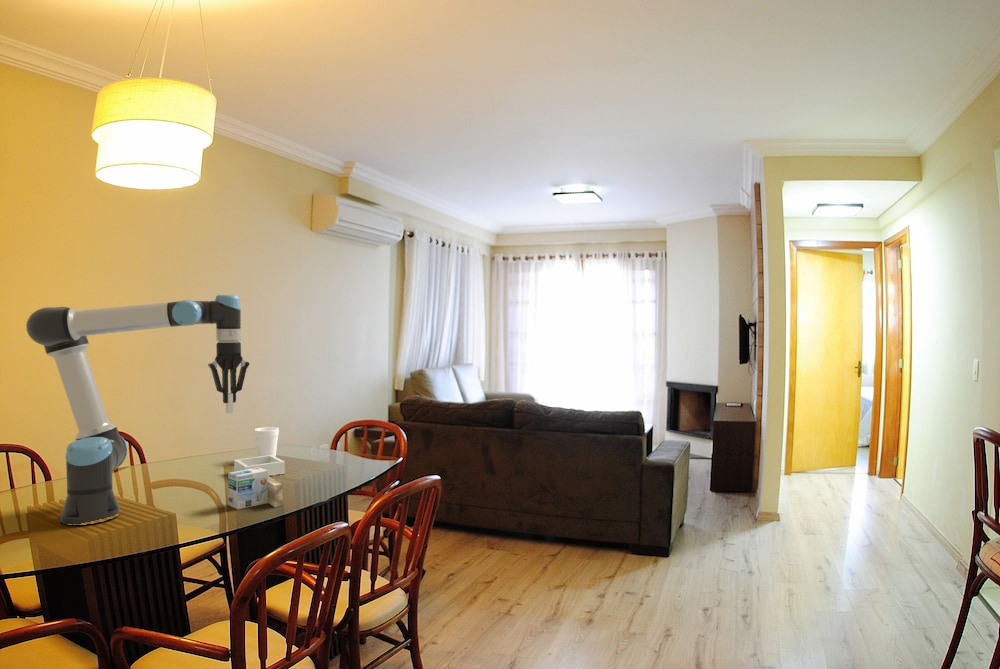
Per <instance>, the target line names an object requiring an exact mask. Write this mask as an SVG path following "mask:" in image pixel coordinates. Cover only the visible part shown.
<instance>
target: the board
mask: <svg viewBox="0 0 1000 669" xmlns="http://www.w3.org/2000/svg"><path fill="white" fill-rule="evenodd" d="M267 504H269V505H271V506H273V507H274V508H278V507H283V506H284V504H283V484H282V483H281V482H280V481H278V480H276V479H274V478H272V477H269V476H268V503H267Z"/></svg>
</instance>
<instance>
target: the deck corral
mask: <svg viewBox="0 0 1000 669" xmlns="http://www.w3.org/2000/svg"><path fill="white" fill-rule="evenodd" d="M233 464H234V465H233V472H235V471H241V470H246V469H252V468H257V467H259V468H262V469H264V470H267V471H268V476H269V475H276V474H284V473H285V474H286V465H285V464H286V462H285V461H284V460H283V459H280V458H278V457H277V456H276V457H275V456H273V455H267V456H260V457H258V456H254V457H246V458H239V459H233Z"/></svg>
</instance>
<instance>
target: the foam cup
mask: <svg viewBox="0 0 1000 669" xmlns="http://www.w3.org/2000/svg"><path fill="white" fill-rule="evenodd" d="M279 429H280V428H279V427H276V426H265V427H257V428H255V429H254V437H255V443H256V450H257V457H260V456H267V455H273V456H275V457H277V456H276V455H277V448H278V441H279V440H278V439H279V434H280V430H279Z"/></svg>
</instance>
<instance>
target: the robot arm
mask: <svg viewBox="0 0 1000 669" xmlns="http://www.w3.org/2000/svg"><path fill="white" fill-rule="evenodd" d="M241 310H242V309H241V299H240V296H239V295H236V294H234V295H233V294H221V295H220V294H217V295H216V296H215V300H190V299H187V300H183V299H182V300H179V301H172V302H159V303H158V302H157V303H150V304H149V303H148V304H147V303H146V304H139V305H130V306H129V305H128V306H127V305H126V306H117V307H115V306H114V307H107V308H106V307H105V308H95V309H84V310H83V309H82V310H77V309H76V308H74V307H66V306H56V307H54V306H53V307H52V306H51V307H42V308H39V309H37V310H35V311H33V312H32V313H31V314H30V316H29V317H28V319H27V321H26V324H25V326H26V328H25V329H26V332H27V335H28V337H30V339H31V340H32V341H33V342H35V343H37V344H38V345H41V346H43V347H44V350H45V353H46V355H47V356H49V357H51V358H53V359H54V362H55V364H56V367H57V370H58V373H59V376H60V379H61V382H62V385H63V388H64V392H65V394H66V397H67V401H68V404H69V406H70V409H71V412H72V415H73V417H74V421H75V424H76V428H77V429H78V430H77V431H78V433H77V434H76V436H75V438H74V439H75V440H74V441H72V442H70V443H69V444H68V445H67V446H66V450H65V451H66V453H65V463H66V464H65V465H66V467H65V468H66V497H65V501H64V504H63V507H62V509H61V512H60V523H61V522H62V523H63V524H72V525H73V524H81V523H85V522H91V521H95V520H99V519H104V518H107V517H111V516H114V515H116V514H118V513H119V512H121V510H120V505H119V502H118V500H117V498H116V495H115V493H114V491H113V471H115V470H116V469H118V468H119V467H121V465H123V463H124V461H125V460H126V458H127V456H128V451H129V450H128V449H129V448H128V444H127V441H126V440H125V439H124V437H123V436H121V434H120V433H119V431H118V427H117V425H116V424H113V423H112V422H110V420H109V418H108V415H107V412H106V408H105V406H104V403H103V399H102V396H101V393H100V390H99V388H98V387H99V386H98V385H97V381H96V378H95V376H94V372H93V370H92V366H91V363H90V360H89V356H88V353H87V349H88V347H89V345H90V343H89V340H88V336H95V335H105V334H113V333H114V334H115V333H126V332H133V331H144V330H153V329H161V328H171V327H173V328H174V327H181V326H182V327H186V326H187V327H189V326H193V325H207V324H211V325H215V327H216V328H215V329H216V331H215V332H216V333H215V334H216V335H215V336H216V338H215V339H216V341H217V343H216V344H215V345H216V356H215V358H214V361H212V362H210V363H208V364H207V366H208V368H209V370H211V374H212V377H213V381H214V385H215V388H216V391H217V392H219V393H222V402H223V403H224V404H225V413H227V414H234V403H236V401H237V393H238V392H240V391H242V389H243V387H244V381H245V378H246V374H247V369H248V367H249V366H250V362H249V361H246V360H244V358H243V356H242V343H241V342H240V341H241V339H242V338H241V337H242V336H241V333H242V332H241V328H242V327H241V318H242V317H241V314H242V313H241V312H242V311H241ZM239 365H240V369H239V373H238V377H237V368H238V367H239ZM218 367H219V368H220V369H221V374H222V376H221V378H222V379H221V378H220V375H219V373H218V369H217V368H218ZM237 378H238V379H237ZM229 379H230V381H229ZM229 382H230V383H229ZM229 384H230V388H229ZM229 390H230V392H229ZM63 524H62V525H63Z"/></svg>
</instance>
